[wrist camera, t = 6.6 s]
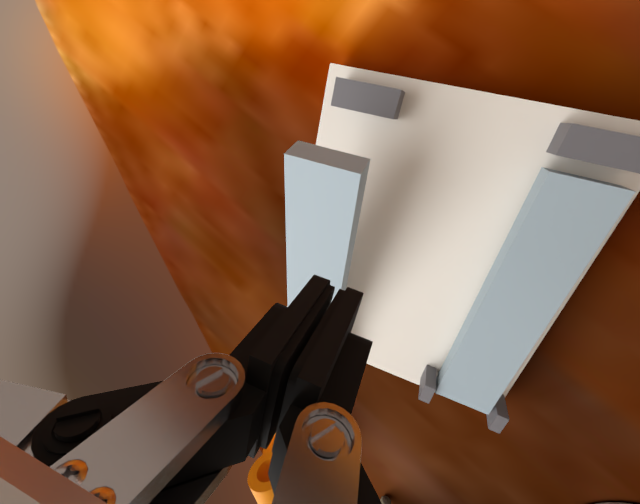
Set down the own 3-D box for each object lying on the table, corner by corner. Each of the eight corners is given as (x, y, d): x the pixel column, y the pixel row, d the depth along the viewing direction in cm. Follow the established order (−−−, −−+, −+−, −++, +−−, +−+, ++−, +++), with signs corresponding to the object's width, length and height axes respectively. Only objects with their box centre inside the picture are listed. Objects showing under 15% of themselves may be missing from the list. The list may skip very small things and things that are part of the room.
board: (489, 393, 35) (497, 441, 30) (293, 315, 41) (271, 344, 36) (653, 127, 23) (715, 129, 18) (340, 68, 28) (317, 56, 23)
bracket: (325, 396, 44) (289, 481, 34) (341, 436, 46) (310, 528, 36) (263, 395, 49) (213, 470, 38) (279, 431, 51) (236, 512, 40)
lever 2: (486, 398, 32) (488, 414, 30) (435, 378, 33) (435, 392, 31) (620, 185, 22) (636, 191, 20) (541, 167, 23) (549, 171, 21)
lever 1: (336, 338, 35) (330, 353, 34) (296, 322, 37) (288, 336, 35) (370, 158, 20) (360, 174, 19) (297, 140, 21) (283, 153, 20)
